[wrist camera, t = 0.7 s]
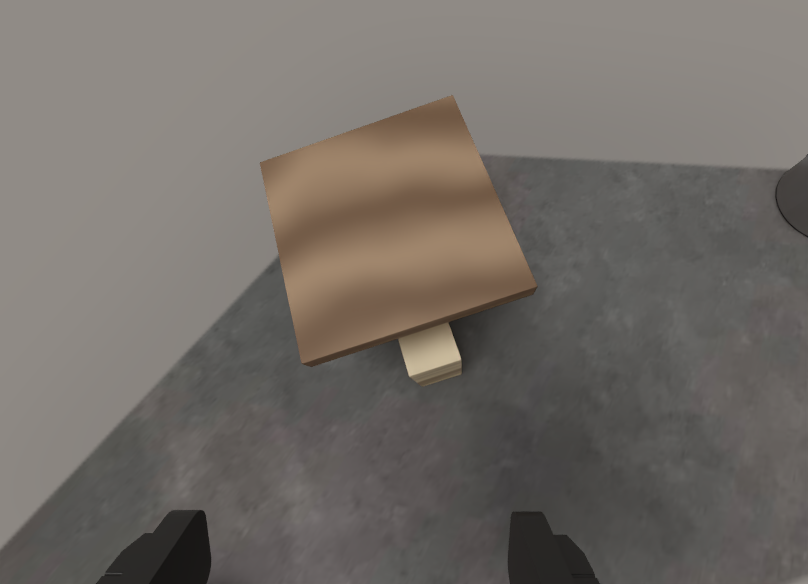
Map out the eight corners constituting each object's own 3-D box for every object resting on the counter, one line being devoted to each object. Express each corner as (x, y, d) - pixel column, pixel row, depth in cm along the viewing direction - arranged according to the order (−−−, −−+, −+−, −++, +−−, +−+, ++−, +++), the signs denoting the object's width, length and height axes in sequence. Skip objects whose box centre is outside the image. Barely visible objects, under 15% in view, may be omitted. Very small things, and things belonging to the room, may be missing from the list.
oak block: (461, 374, 38) (461, 359, 29) (422, 386, 38) (409, 376, 29) (448, 335, 40) (443, 309, 30) (410, 347, 40) (394, 325, 30)
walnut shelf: (505, 343, 39) (537, 286, 22) (369, 386, 39) (301, 363, 23) (456, 218, 43) (452, 94, 27) (335, 258, 44) (259, 162, 27)
